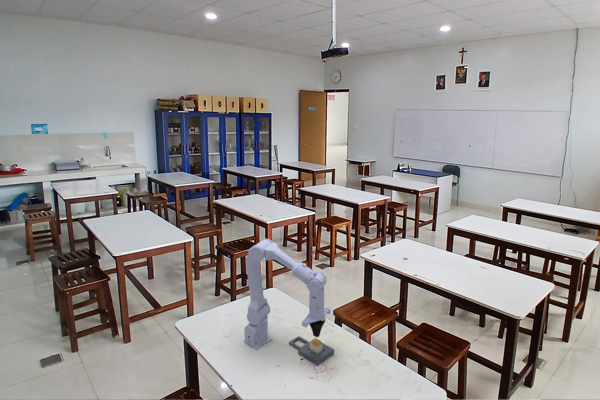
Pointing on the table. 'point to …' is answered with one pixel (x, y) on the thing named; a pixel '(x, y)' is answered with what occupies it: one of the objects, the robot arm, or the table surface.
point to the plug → (316, 346)
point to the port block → (314, 357)
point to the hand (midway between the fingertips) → (316, 335)
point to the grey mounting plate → (297, 340)
